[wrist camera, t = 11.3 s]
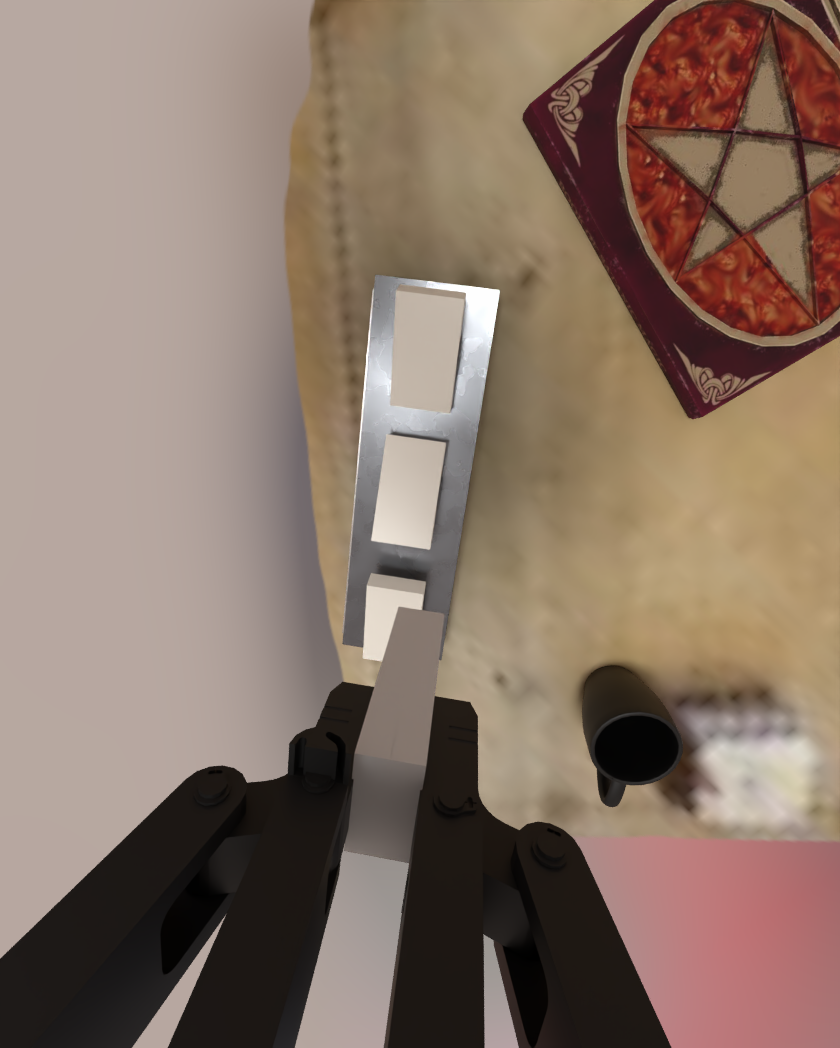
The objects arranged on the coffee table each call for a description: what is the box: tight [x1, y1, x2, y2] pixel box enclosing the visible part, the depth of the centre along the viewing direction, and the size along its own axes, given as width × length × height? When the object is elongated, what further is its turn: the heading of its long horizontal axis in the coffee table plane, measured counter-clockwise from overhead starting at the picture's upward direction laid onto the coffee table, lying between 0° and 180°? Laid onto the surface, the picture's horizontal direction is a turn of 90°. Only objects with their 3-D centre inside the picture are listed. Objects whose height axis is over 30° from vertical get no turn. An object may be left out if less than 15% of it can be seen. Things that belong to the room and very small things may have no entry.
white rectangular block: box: [371, 434, 446, 550], centre depth 46 cm, size 9×5×3 cm, turn 172°
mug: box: [582, 666, 683, 807], centre depth 53 cm, size 8×12×10 cm
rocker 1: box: [390, 284, 466, 414], centre depth 42 cm, size 9×5×3 cm, turn 174°
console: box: [342, 275, 500, 660], centre depth 50 cm, size 34×10×5 cm, turn 173°
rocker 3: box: [363, 573, 426, 661], centre depth 50 cm, size 9×5×3 cm, turn 173°
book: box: [523, 0, 840, 419], centre depth 41 cm, size 28×21×5 cm
